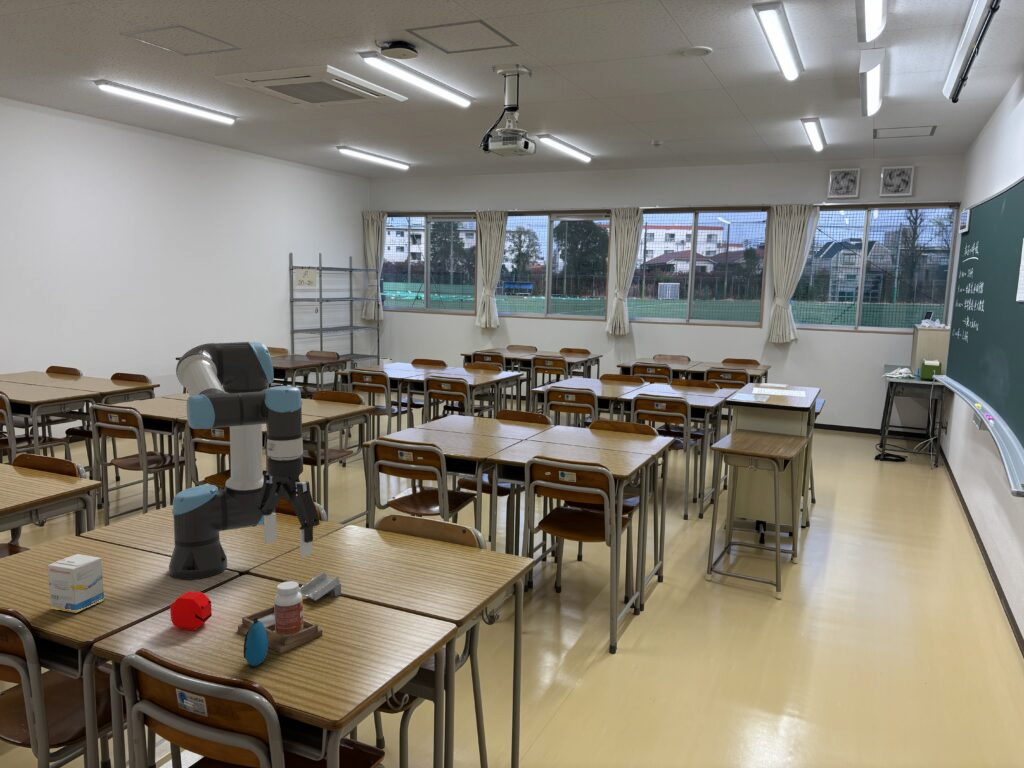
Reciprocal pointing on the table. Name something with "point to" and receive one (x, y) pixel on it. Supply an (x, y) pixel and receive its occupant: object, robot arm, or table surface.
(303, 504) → the robot arm
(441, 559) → the table surface
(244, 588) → the table surface
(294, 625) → the pill bottle
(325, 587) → the feeder chute
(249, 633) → the ornament
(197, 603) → the ball
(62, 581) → the ink box
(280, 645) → the divided sorting tray
